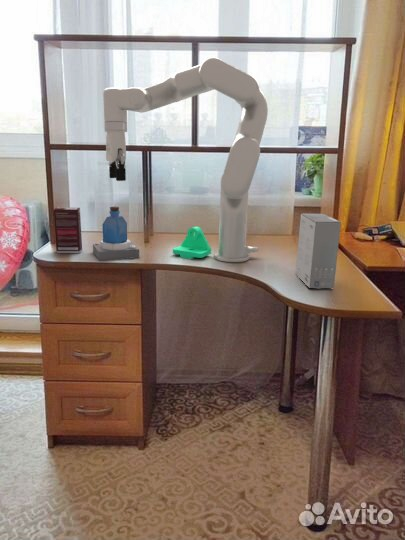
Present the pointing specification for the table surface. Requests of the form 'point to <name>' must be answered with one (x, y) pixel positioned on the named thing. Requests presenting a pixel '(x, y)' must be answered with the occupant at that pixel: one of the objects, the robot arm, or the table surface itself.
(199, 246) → the camera mount
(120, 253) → the camera body block
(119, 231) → the perfume bottle
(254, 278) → the table surface
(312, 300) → the table surface
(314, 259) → the hard drive box
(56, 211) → the supplement box
